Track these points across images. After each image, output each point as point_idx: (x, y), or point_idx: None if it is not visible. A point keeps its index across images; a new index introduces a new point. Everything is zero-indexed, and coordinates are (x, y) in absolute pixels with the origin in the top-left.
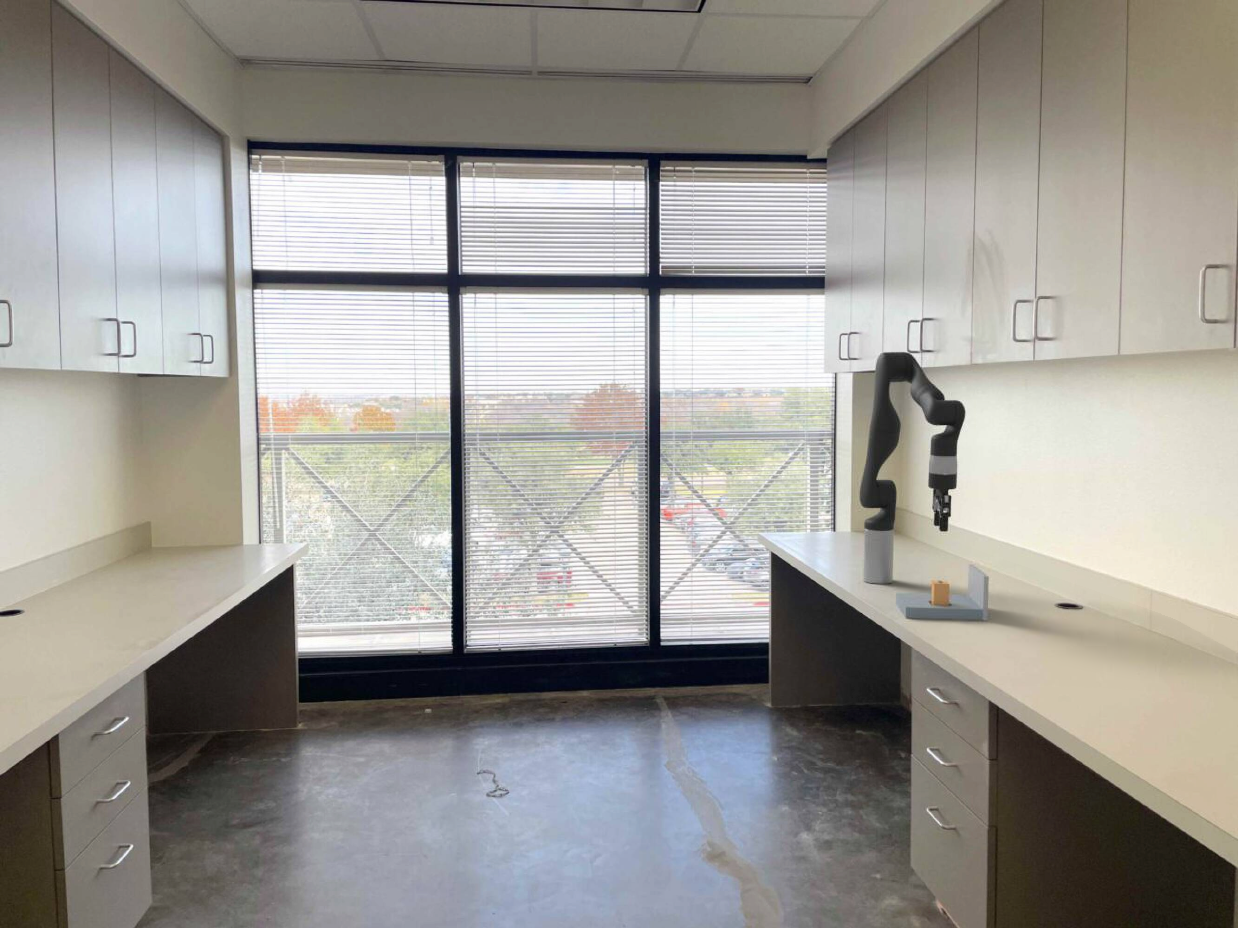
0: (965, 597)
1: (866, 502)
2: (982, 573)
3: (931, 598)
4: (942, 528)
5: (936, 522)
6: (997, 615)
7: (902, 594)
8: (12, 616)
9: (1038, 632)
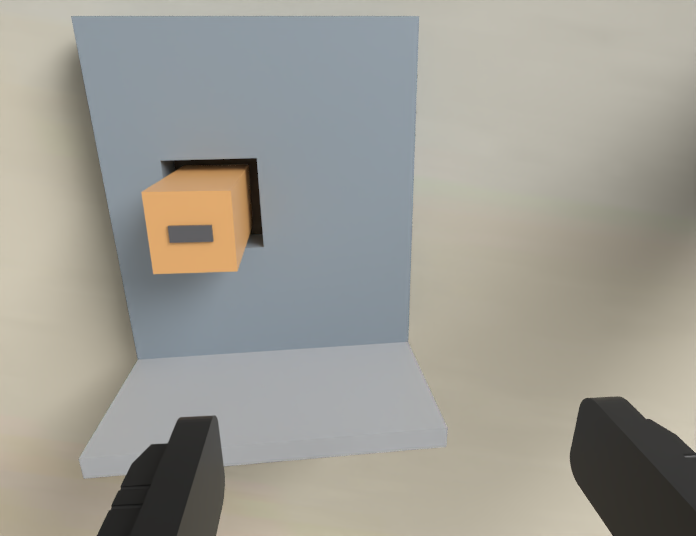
0: (357, 326)
1: None
2: None
3: (236, 173)
4: (139, 466)
5: (605, 443)
6: None
7: (384, 47)
8: None
9: (42, 472)
